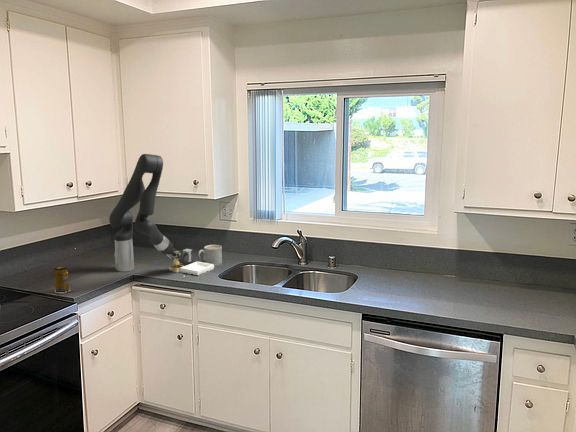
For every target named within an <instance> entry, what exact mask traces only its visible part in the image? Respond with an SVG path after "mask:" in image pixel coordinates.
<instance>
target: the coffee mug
mask: <svg viewBox="0 0 576 432" xmlns="http://www.w3.org/2000/svg"><path fill="white" fill-rule="evenodd" d="M222 247H223V246H222V245H220V244H209V245H205V246H204V247H203V249H200V250H199V251H198V255H197V256H198V259H200V260H201V261H202V262H203V263H209V264H214V267H217V266H218V267H220V266H221V265H222V264H223V248H222ZM201 254H203V257H202V255H201Z"/></svg>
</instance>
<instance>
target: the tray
mask: <svg viewBox="0 0 576 432" xmlns="http://www.w3.org/2000/svg"><path fill="white" fill-rule="evenodd" d="M214 269H215V266H214V264H209V263H205V262H204V261H197V260H196V261H195V262H194V261H193V263H192V264H189V265H187V266H184V267H181V268H180V272H179V273H181V274H186V273H187V274H188V275H191V274H193V276H196V275H198V276H200V274H201V275H203V274H205V273H208V272H210V271H212V270H214ZM207 271H208V272H207ZM202 273H203V274H202Z"/></svg>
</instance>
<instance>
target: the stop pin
mask: <svg viewBox="0 0 576 432" xmlns="http://www.w3.org/2000/svg"><path fill="white" fill-rule="evenodd" d="M176 251H177V252H179V251H180V250H176ZM180 265H181V263H180V262H179V261H178V260H177V259H176V258H174V260H173V266H174V268H180Z"/></svg>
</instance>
